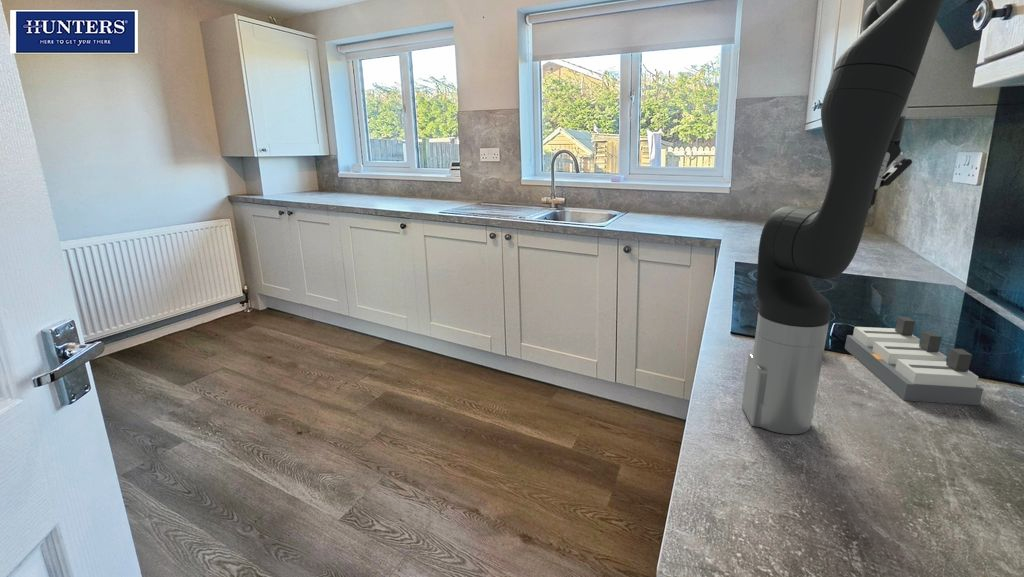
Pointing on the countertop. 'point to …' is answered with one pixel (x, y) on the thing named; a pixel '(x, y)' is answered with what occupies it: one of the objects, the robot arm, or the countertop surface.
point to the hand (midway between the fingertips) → (864, 207)
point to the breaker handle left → (905, 326)
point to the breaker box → (912, 367)
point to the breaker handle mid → (930, 341)
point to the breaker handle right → (959, 360)
